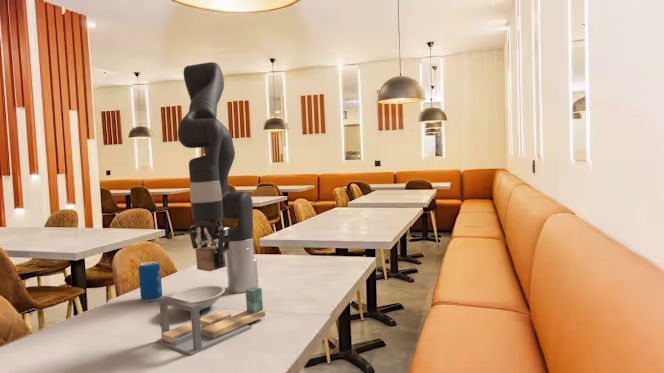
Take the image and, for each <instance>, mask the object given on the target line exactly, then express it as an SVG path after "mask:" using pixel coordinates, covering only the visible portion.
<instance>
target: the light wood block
mask: <svg viewBox="0 0 664 373" xmlns="http://www.w3.org/2000/svg"><path fill="white" fill-rule="evenodd" d="M229 317H232V313H229V312H226V311H225V312H224V311H221V310H220V311H218V312H214V313H213V314H209V315H207V316H205V317H201V318H200V325H203V327H207V326H209V325H212V324H214V323H217V322H219V321H222V320H224V319H227V318H229Z"/></svg>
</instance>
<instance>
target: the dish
mask: <svg viewBox="0 0 664 373" xmlns="http://www.w3.org/2000/svg"><path fill="white" fill-rule="evenodd" d="M225 291H226V288H225V286H223V285H214V284H213V285H211V284H210V285H200V286H196V287H192V288H191V287H190V288H187V289H184V290H180V291H179V292H177V293H175V294H172V295H170V297H171V298H175V299H179V300H183V301H187V302H191V303H195V304H199V305H200V309H199V312H200V311H201V312H202V310H203V309H206V308H208V307H210V306H213V304H215V303H216V302H217V301H218V300H219V299H220V298H221V296H222V294H224V293H225ZM179 309H180V310H182V311H188V310H184V309H181V308H179ZM188 312H189V311H188Z"/></svg>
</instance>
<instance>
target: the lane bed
mask: <svg viewBox="0 0 664 373" xmlns="http://www.w3.org/2000/svg"><path fill="white" fill-rule="evenodd" d="M157 301H158V303H159V314H160V326H161V333H164V332H167V331H169V330H170V319H169V307H168V306H170V307H174V308H177V309H180V308H181V309H180V310H182V309H184V310H183V311H186V310H188V312H190V321H191V322H192V333H190V334H188V335H185V336H183V337H180V338H178V339H175V340H173V342H174V343H170V342H167V341H164V340H162V337H161V338H159V339H156V344H160V345H162V346H164V347H168V348H170V349H173V350H175V351H177V352H180V353H183V354H186V355H188V356H194V355H195V354H198V353H200V352H202V351H205V350H206V349H209V348H210V347H213V346H215V345H217V344H219V343H222V342H224V341H227V340H228V339H231V338H233V337H235V336H237V335H240V334H242V333H244V332H246V331H249V330H251V329H252V325H249V324H246V325H244V326H241V327H239V328H237V329H234V330H232V331H230V332H227V333H225V334H223V335H220V336H218V337H216V338H210V337H207V336H204V335H202V331H201V329H200V319H201V318H200V317H201V316H200V311H199V309H200V305H199V304H195V303H191V302H187V301H183V300H179V299H175V298H171V296H167V295H164V296H162V297H160V298H158V300H157ZM203 328H204V327H203Z"/></svg>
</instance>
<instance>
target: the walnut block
mask: <svg viewBox="0 0 664 373" xmlns="http://www.w3.org/2000/svg"><path fill="white" fill-rule="evenodd" d="M216 246H217V248H218V245H216ZM195 256H196V257H195V258H196V269H197V270H198V271H199V270H200V271H205V272H212V271H216V270H217V269H216V268H215V263H214V252H213V249H212V246H211V245H208V247H204V248H200V249H195ZM223 260H224V265H223V267H222V268H219V269H218V270H220V269H223V268H225V267H226V268H227V261H226V251H224V252H223Z"/></svg>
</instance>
